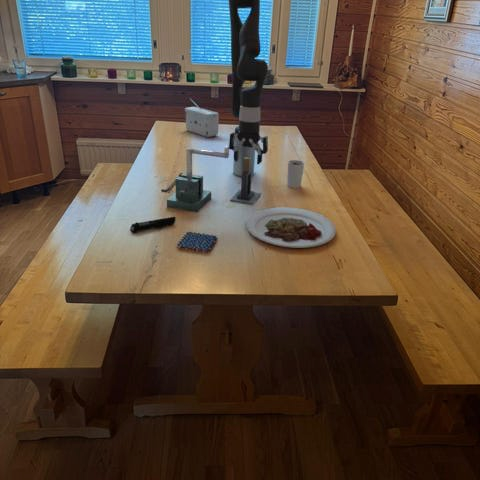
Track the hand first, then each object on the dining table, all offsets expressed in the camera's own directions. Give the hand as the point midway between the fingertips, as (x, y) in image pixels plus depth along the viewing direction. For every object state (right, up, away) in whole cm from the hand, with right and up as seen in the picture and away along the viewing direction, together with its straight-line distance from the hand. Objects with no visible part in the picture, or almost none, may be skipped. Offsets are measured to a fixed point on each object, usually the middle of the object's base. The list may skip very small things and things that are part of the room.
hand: (247, 162), depth 169 cm
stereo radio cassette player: (-25, +32, +90) cm, 98 cm away
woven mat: (-16, -31, -28) cm, 45 cm away
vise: (-18, -16, -2) cm, 24 cm away
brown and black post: (-1, -12, +6) cm, 14 cm away
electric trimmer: (-32, -25, -19) cm, 45 cm away
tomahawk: (-29, -6, +18) cm, 34 cm away
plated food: (+14, -26, -16) cm, 34 cm away
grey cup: (+20, -6, +21) cm, 30 cm away
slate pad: (-1, -13, +7) cm, 14 cm away
